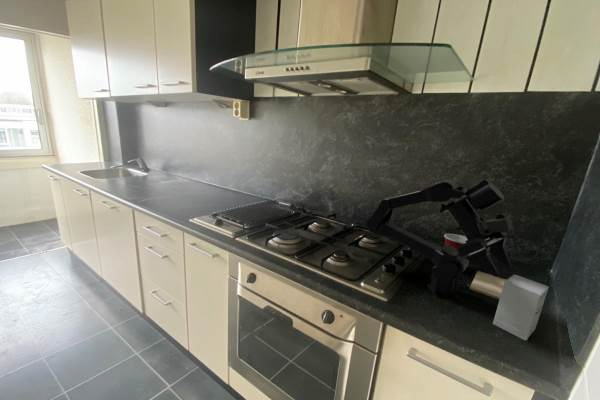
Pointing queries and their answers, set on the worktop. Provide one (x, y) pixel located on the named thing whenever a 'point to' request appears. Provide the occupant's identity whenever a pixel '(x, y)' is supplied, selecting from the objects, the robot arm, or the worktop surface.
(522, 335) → the supplement box
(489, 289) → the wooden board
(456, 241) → the plastic cup
